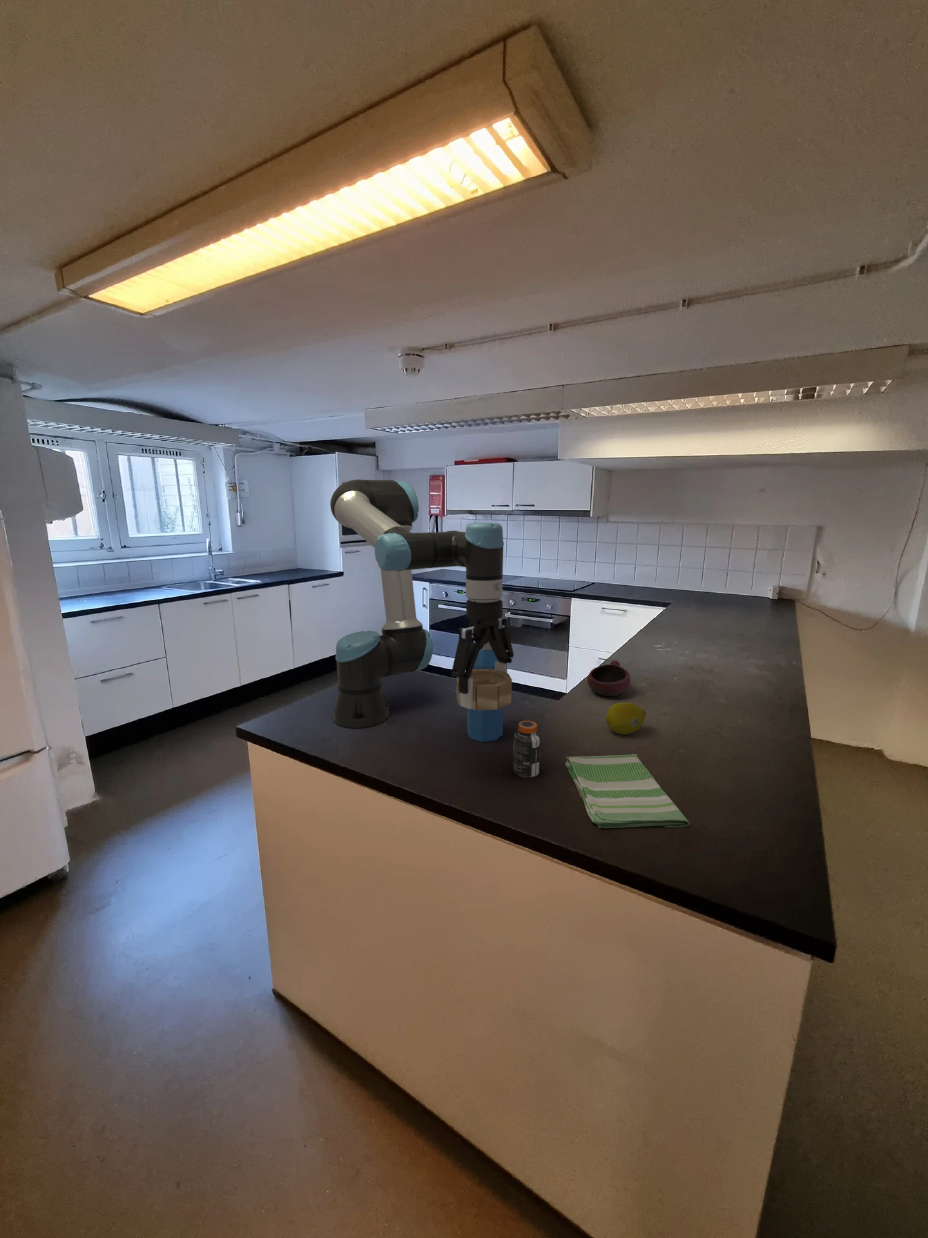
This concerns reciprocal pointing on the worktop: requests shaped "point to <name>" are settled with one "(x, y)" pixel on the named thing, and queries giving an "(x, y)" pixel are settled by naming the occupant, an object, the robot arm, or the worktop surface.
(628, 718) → the lemon
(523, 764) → the pill bottle
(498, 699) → the ring
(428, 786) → the worktop surface
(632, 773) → the dish towel
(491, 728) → the water bottle
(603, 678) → the bowl
